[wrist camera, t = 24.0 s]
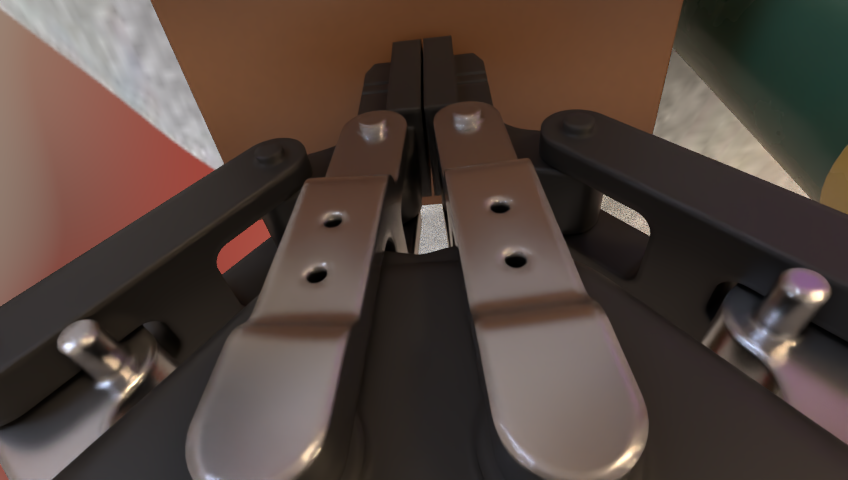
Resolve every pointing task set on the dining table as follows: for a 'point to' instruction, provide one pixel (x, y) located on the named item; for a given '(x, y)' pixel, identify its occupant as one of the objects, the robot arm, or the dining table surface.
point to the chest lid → (417, 19)
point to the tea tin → (779, 80)
